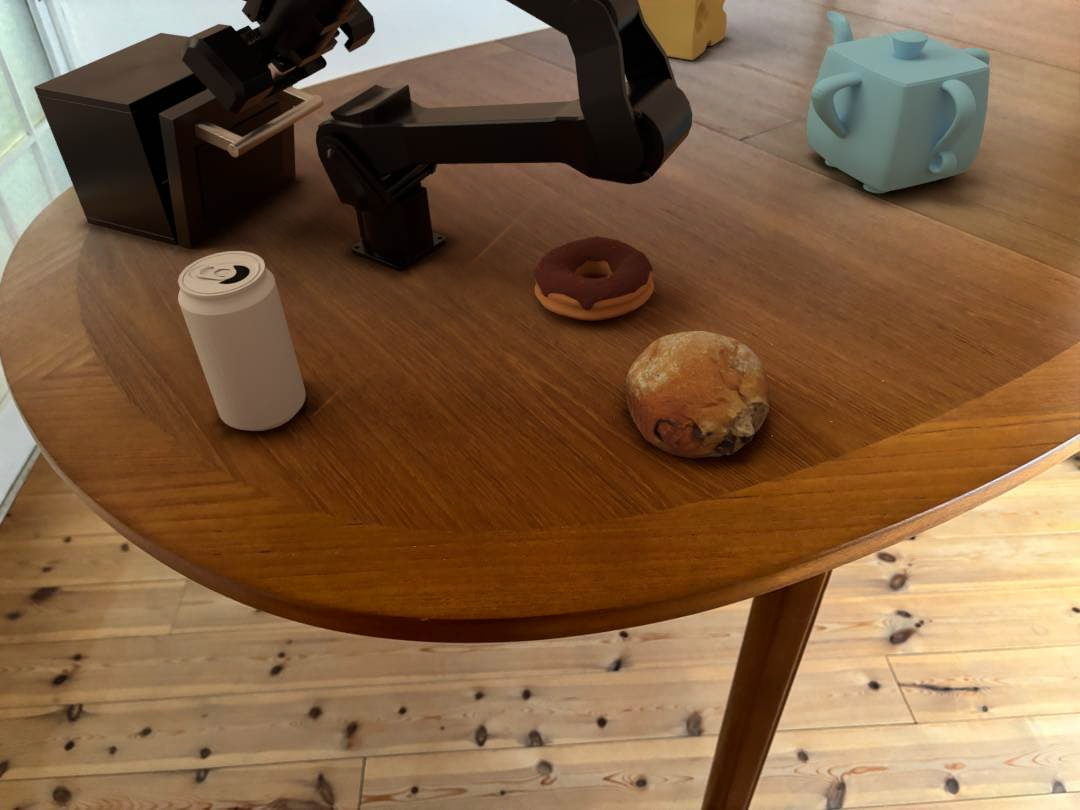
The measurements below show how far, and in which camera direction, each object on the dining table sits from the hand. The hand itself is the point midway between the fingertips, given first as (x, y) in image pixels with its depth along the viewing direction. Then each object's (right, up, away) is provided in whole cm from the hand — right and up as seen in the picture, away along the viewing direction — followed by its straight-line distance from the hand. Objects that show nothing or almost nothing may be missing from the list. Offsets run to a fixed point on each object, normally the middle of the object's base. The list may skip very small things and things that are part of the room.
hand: (248, 98), depth 83 cm
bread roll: (+38, -29, -18) cm, 51 cm away
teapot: (+61, -3, +12) cm, 62 cm away
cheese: (+45, +21, +42) cm, 65 cm away
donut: (+31, -19, -5) cm, 37 cm away
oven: (-10, -6, +12) cm, 17 cm away
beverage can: (+6, -28, -15) cm, 33 cm away
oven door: (-2, -9, +9) cm, 13 cm away
